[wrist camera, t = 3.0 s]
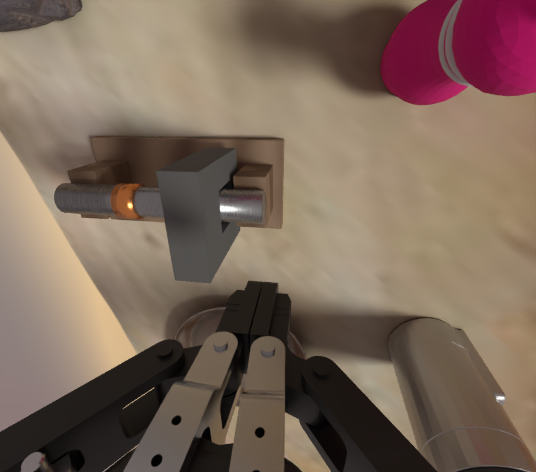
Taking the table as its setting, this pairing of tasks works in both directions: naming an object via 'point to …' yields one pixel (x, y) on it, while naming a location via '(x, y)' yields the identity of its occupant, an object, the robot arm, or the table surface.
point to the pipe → (151, 202)
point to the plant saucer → (207, 324)
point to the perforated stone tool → (35, 12)
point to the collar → (198, 212)
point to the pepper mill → (462, 50)
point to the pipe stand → (176, 148)
